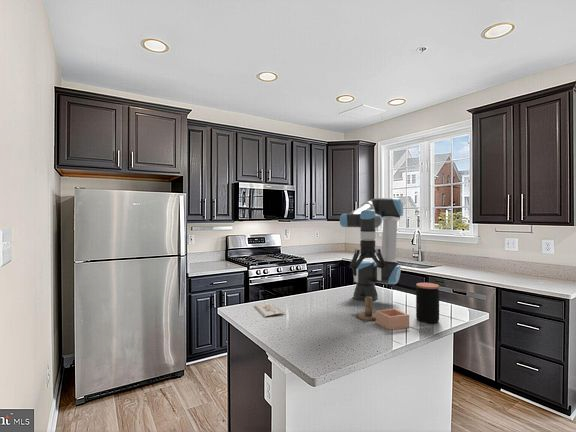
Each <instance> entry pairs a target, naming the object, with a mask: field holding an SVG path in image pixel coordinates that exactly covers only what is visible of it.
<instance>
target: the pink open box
mask: <svg viewBox="0 0 576 432" xmlns="http://www.w3.org/2000/svg"><path fill="white" fill-rule="evenodd" d="M375 313H376V321H375V323H376V324H378V325H380V326H381V327H384V328H386V329H387V330H397V329H398V330H399V329H404V328H410V314H408V313H406V312H404V311H401V310H399V309H396V308H388V309H380V310H375Z"/></svg>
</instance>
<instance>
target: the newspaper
mask: <svg viewBox="0 0 576 432" xmlns="http://www.w3.org/2000/svg"><path fill="white" fill-rule="evenodd" d="M253 307H254V308H255V309H256V310H257V312H258V313H259V314H261V316H262V317H263V318H266V317H268V316H273V315H277V316H279V317H280V316H284V315H286V314H287V313H286V312H284V311H283V310H281V309H280V308H278V307H276V306H275V305H274V304H272V303H271V302H266V303H265V302H264V303H259V304H254V305H253Z"/></svg>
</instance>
